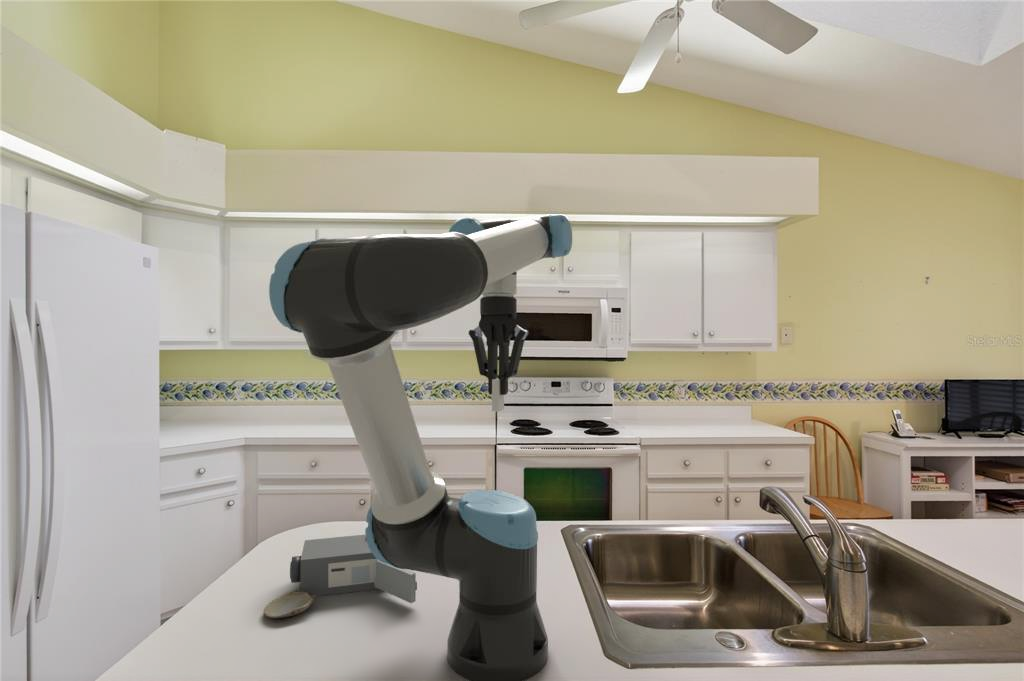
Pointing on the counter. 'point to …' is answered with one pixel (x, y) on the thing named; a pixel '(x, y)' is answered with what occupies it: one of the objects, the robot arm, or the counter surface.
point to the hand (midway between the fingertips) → (498, 410)
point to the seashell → (289, 605)
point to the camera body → (334, 566)
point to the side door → (395, 581)
